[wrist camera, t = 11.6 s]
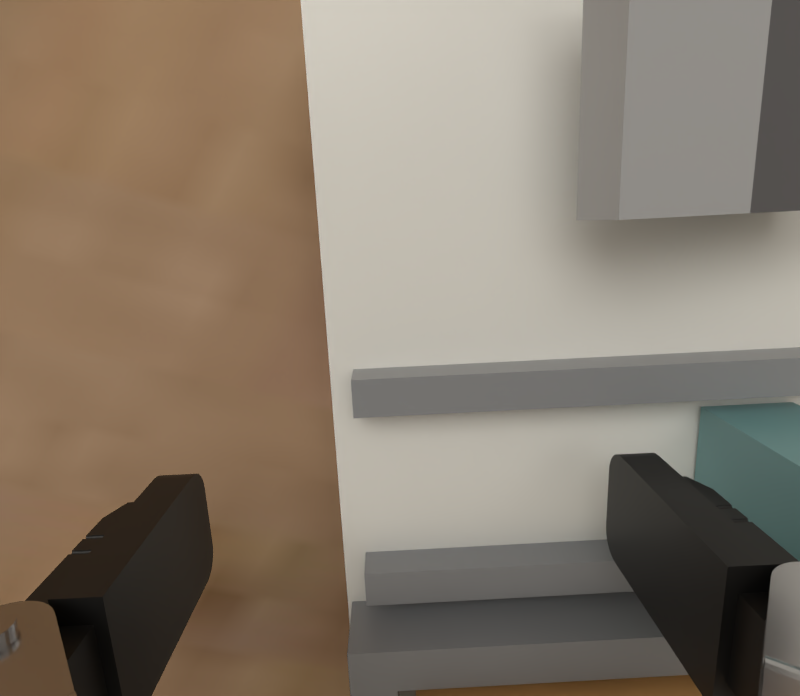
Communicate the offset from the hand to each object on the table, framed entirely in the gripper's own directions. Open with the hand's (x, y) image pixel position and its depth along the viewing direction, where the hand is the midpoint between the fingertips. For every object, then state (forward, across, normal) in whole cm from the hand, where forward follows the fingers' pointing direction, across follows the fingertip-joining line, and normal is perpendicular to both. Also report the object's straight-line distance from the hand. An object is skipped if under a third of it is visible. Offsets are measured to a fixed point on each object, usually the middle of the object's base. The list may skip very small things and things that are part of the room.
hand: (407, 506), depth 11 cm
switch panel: (+4, -6, 0) cm, 7 cm away
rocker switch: (0, -6, -7) cm, 9 cm away
